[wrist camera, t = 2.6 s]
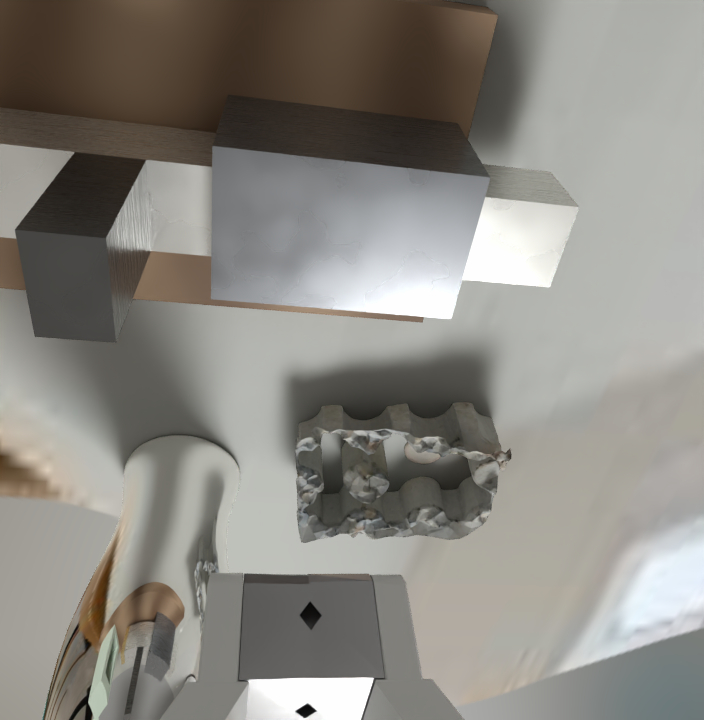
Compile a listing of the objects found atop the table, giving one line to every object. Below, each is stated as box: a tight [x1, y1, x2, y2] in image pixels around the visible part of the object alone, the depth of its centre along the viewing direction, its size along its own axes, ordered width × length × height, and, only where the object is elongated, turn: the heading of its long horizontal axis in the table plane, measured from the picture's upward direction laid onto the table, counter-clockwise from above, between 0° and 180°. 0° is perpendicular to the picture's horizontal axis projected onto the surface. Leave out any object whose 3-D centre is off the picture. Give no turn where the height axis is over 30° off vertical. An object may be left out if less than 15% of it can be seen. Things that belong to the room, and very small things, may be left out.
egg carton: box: [295, 402, 511, 543], centre depth 34 cm, size 11×8×4 cm
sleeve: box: [211, 94, 490, 319], centre depth 22 cm, size 8×5×5 cm, turn 82°
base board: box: [0, 0, 498, 322], centre depth 23 cm, size 29×12×2 cm, turn 82°
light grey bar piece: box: [0, 108, 579, 342], centre depth 20 cm, size 21×3×8 cm, turn 82°
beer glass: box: [42, 435, 240, 720], centre depth 29 cm, size 7×7×15 cm
